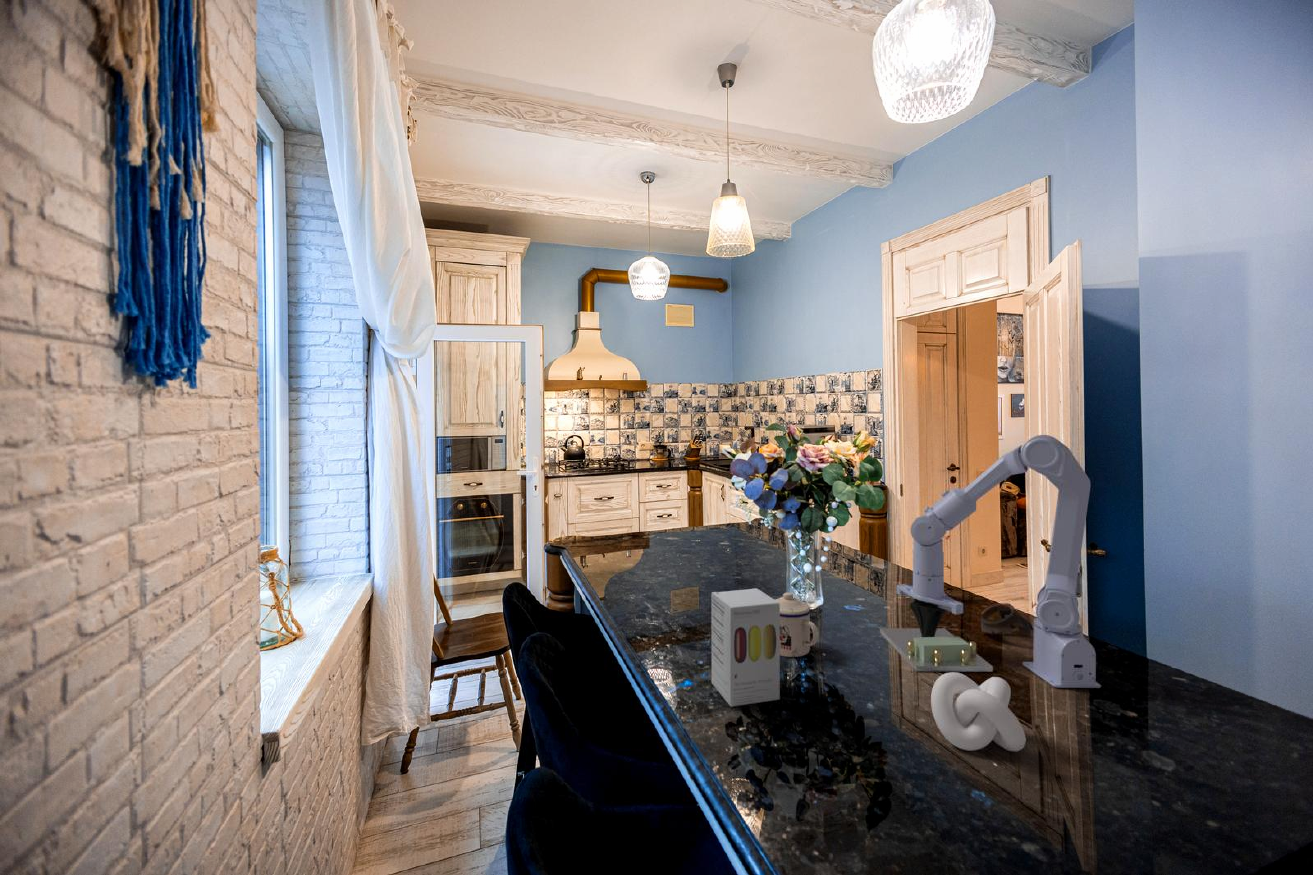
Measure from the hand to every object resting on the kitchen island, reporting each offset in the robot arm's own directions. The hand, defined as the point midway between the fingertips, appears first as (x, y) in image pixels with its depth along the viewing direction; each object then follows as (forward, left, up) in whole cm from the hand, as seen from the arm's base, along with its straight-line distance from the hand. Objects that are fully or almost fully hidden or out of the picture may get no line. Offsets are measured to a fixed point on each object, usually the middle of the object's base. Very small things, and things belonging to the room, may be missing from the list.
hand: (928, 637), depth 115 cm
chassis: (-2, 0, -2) cm, 2 cm away
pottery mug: (+6, -20, -2) cm, 21 cm away
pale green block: (-7, 0, -1) cm, 7 cm away
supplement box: (-19, +40, -2) cm, 44 cm away
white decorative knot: (-33, +7, -2) cm, 34 cm away
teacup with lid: (-2, +28, -2) cm, 28 cm away
